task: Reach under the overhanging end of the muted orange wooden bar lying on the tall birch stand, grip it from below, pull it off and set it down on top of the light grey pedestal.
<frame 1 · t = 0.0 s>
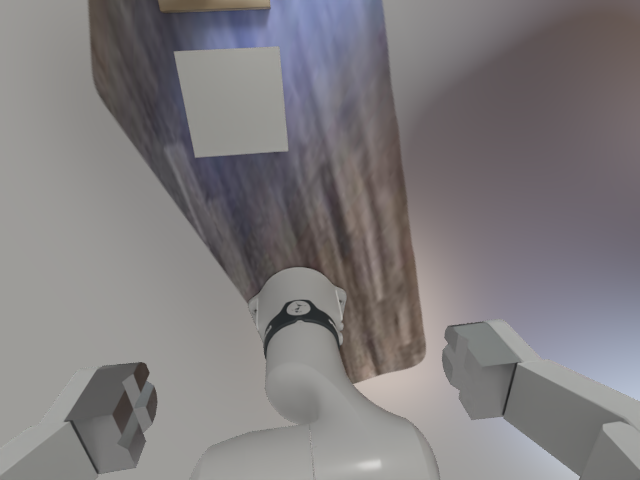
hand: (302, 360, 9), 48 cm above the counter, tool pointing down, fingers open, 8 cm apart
pedestal: (248, 98, 50), on the counter
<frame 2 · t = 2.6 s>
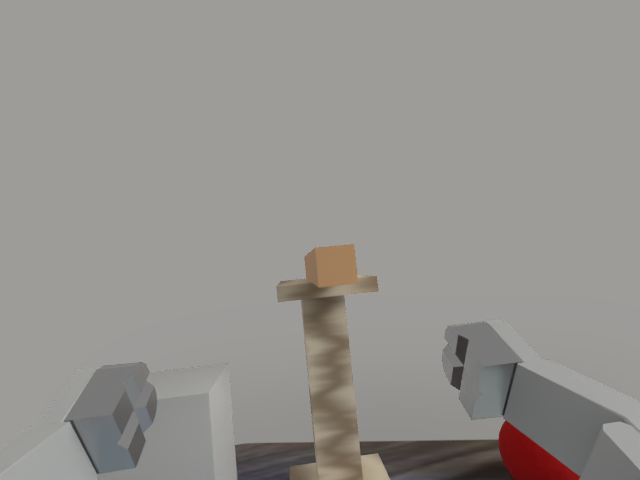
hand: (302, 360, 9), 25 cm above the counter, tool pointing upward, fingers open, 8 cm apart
bar: (325, 280, 36), point 26 cm above the counter, touching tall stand
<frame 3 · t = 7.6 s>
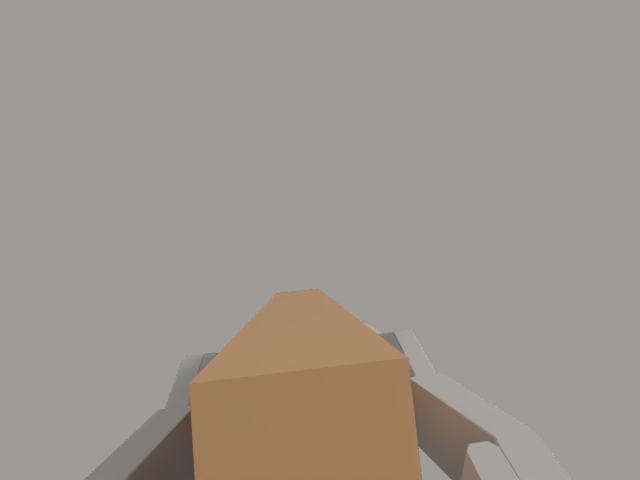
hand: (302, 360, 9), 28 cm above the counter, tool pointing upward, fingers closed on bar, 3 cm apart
bar: (304, 375, 14), point 26 cm above the counter, touching gripper, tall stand
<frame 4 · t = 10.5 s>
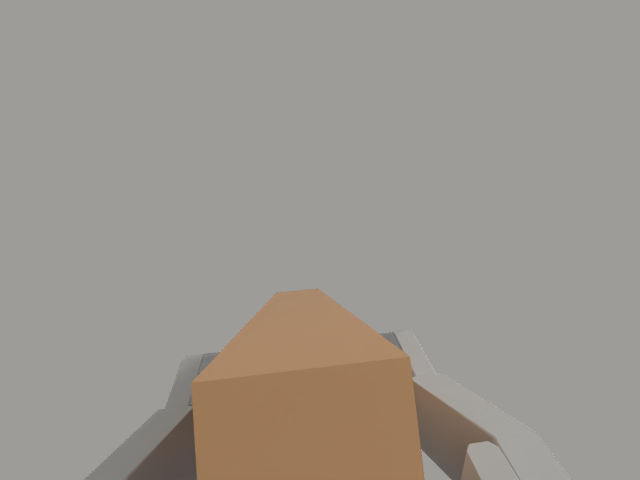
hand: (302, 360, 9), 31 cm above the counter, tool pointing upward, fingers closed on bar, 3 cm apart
bar: (304, 375, 14), point 29 cm above the counter, touching gripper
when the fingers open (21 cm above the counter, at t = 13.6 s): bar drops 2 cm, resting on pedestal.
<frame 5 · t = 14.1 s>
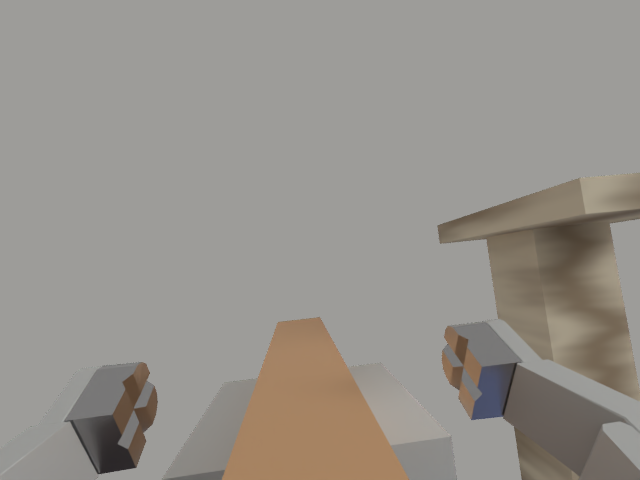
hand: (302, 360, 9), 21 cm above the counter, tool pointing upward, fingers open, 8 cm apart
bar: (308, 426, 14), point 17 cm above the counter, touching pedestal
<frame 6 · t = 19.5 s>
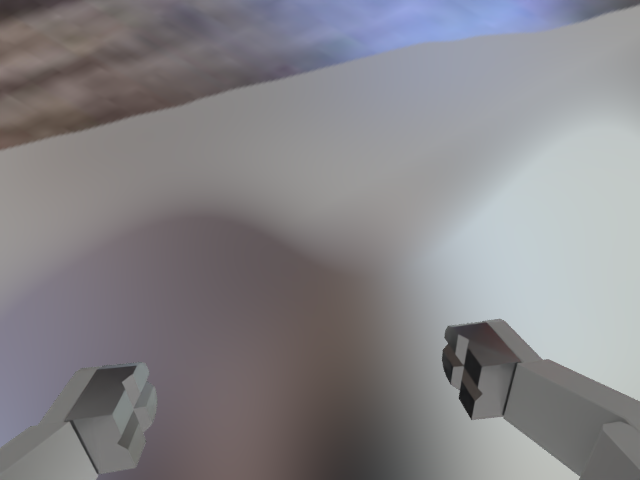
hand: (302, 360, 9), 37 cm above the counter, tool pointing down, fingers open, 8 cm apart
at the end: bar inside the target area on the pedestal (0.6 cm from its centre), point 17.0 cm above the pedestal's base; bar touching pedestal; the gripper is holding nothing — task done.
